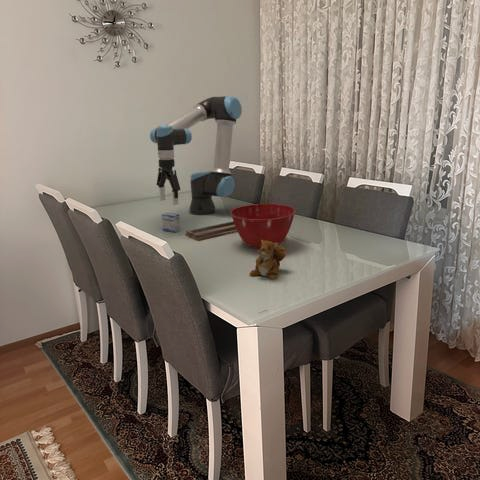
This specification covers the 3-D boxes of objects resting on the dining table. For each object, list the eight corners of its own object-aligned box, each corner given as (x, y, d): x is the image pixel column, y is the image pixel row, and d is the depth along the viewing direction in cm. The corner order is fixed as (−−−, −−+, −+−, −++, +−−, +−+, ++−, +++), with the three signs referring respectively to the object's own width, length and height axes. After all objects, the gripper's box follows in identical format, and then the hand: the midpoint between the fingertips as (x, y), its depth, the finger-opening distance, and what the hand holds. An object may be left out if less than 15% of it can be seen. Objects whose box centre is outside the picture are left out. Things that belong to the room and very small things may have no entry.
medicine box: (162, 231, 228) (161, 214, 225) (167, 228, 232) (166, 212, 229) (175, 232, 224) (174, 215, 222) (180, 230, 228) (179, 213, 226)
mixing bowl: (241, 257, 187) (240, 221, 182) (224, 238, 213) (223, 206, 208) (305, 250, 194) (305, 215, 189) (281, 232, 220) (281, 201, 215)
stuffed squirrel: (247, 276, 167) (246, 242, 163) (267, 265, 178) (267, 232, 174) (271, 281, 161) (271, 246, 157) (290, 269, 172) (290, 236, 168)
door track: (185, 235, 219) (184, 230, 219) (235, 224, 236) (235, 219, 235) (198, 241, 210) (197, 235, 209) (249, 229, 227) (249, 224, 226)
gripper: (147, 157, 225) (151, 199, 231) (171, 161, 206) (174, 207, 212) (161, 156, 229) (164, 197, 235) (186, 160, 210) (188, 205, 216)
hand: (169, 202), depth 224 cm, fingers open, 13 cm apart
